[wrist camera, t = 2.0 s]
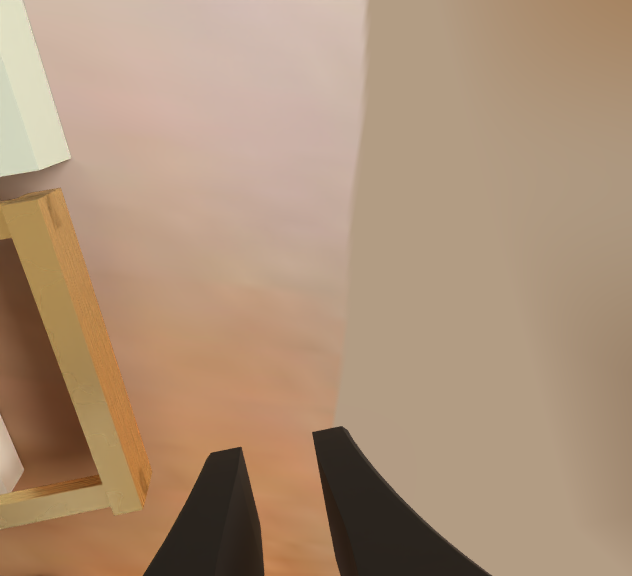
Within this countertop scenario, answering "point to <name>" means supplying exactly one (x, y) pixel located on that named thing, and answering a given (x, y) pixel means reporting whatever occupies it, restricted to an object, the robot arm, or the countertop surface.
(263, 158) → the countertop surface
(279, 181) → the countertop surface
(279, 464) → the countertop surface
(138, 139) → the countertop surface
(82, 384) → the gold rectangular frame
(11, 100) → the square cutout plate
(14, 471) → the socket block
